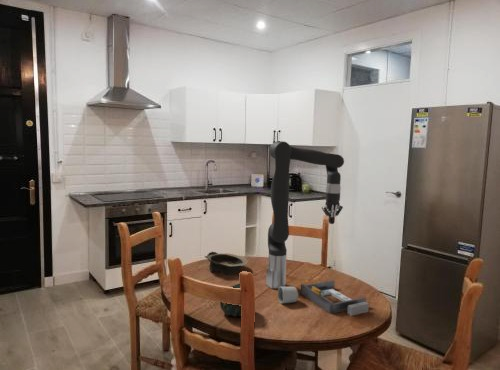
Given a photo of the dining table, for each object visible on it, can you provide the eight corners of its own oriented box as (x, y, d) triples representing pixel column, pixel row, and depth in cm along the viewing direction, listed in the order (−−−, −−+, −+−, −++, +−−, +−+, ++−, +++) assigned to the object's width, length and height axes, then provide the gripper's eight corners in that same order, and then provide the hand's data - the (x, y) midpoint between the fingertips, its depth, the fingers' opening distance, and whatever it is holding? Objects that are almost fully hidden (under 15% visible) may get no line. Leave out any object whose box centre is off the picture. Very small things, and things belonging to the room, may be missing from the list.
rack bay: (330, 313, 170) (331, 298, 169) (300, 293, 192) (301, 280, 191) (365, 306, 179) (366, 291, 178) (332, 287, 201) (333, 274, 200)
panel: (350, 316, 169) (351, 307, 168) (347, 313, 171) (347, 305, 170) (368, 312, 173) (368, 303, 173) (364, 310, 175) (364, 301, 175)
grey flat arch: (308, 292, 189) (332, 287, 196) (308, 297, 190) (331, 292, 196) (332, 307, 173) (357, 301, 180) (332, 312, 173) (357, 306, 180)
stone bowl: (195, 271, 220) (196, 255, 220) (223, 263, 241) (223, 248, 240) (230, 280, 206) (231, 263, 206) (255, 271, 227) (256, 256, 226)
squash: (214, 295, 173) (223, 279, 163) (245, 292, 180) (255, 276, 169) (221, 326, 165) (231, 310, 155) (253, 321, 171) (264, 306, 161)
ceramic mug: (299, 304, 179) (299, 288, 178) (283, 306, 177) (283, 290, 176) (290, 295, 189) (290, 280, 188) (274, 297, 187) (275, 282, 186)
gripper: (338, 190, 211) (336, 221, 213) (318, 191, 205) (317, 223, 207) (347, 192, 204) (345, 224, 206) (327, 193, 198) (325, 226, 200)
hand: (331, 223), depth 207 cm, fingers closed
